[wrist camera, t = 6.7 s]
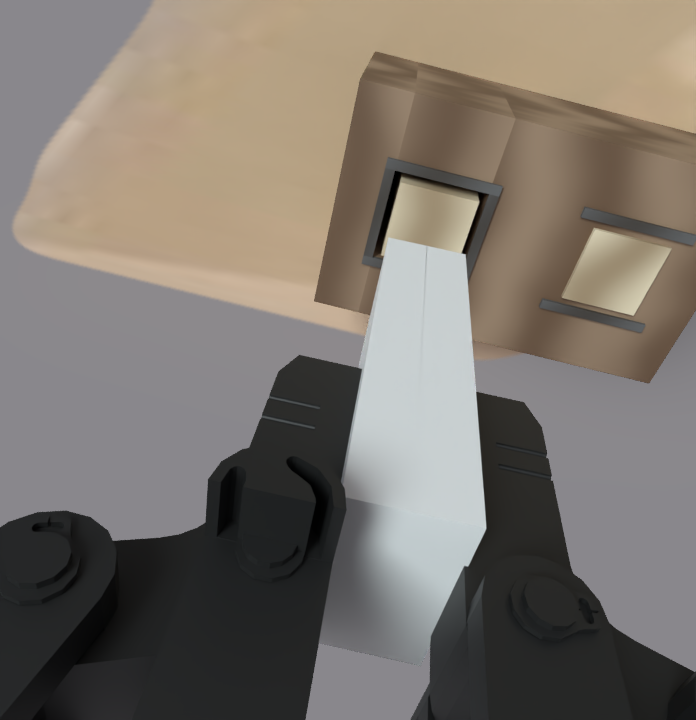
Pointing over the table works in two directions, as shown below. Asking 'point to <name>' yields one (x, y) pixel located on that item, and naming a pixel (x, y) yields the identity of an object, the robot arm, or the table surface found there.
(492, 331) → the wooden box
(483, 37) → the table surface
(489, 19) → the table surface
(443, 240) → the peg
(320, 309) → the table surface
